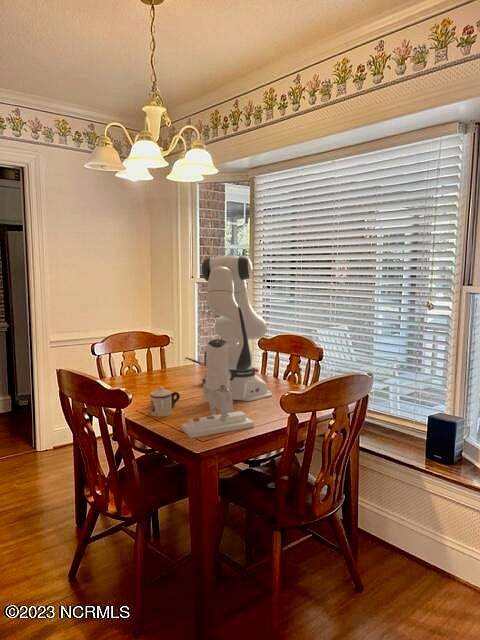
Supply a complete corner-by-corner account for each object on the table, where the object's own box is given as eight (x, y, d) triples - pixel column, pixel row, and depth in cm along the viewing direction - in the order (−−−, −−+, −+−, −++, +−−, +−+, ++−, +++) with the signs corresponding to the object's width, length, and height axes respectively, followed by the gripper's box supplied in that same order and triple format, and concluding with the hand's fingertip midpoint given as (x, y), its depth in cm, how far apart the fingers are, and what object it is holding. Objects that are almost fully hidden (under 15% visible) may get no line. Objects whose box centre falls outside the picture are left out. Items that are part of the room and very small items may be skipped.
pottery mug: (158, 412, 196) (151, 394, 198) (156, 415, 205) (149, 398, 207) (184, 402, 201) (177, 384, 203) (181, 405, 209) (174, 389, 211)
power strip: (240, 421, 182) (240, 409, 182) (245, 424, 178) (245, 412, 178) (189, 430, 173) (188, 417, 172) (193, 434, 169) (193, 421, 168)
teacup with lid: (150, 411, 196) (149, 385, 195) (171, 409, 198) (170, 383, 197) (151, 420, 184) (150, 392, 183) (173, 418, 186) (173, 391, 185)
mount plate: (242, 419, 186) (242, 414, 185) (253, 426, 177) (253, 421, 176) (181, 429, 174) (181, 424, 174) (190, 437, 165) (190, 432, 165)
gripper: (237, 388, 166) (237, 424, 167) (215, 376, 184) (215, 409, 185) (221, 390, 163) (221, 427, 164) (200, 377, 181) (200, 411, 183)
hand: (218, 417), depth 175 cm, fingers open, 8 cm apart
